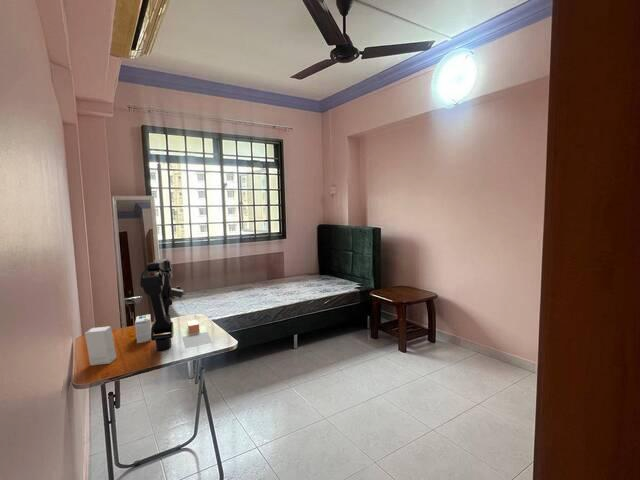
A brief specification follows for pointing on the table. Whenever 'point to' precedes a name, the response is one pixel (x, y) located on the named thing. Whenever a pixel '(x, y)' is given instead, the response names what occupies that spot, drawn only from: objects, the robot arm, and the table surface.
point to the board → (195, 337)
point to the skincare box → (100, 345)
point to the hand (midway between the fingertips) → (166, 315)
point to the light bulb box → (143, 328)
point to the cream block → (193, 326)
